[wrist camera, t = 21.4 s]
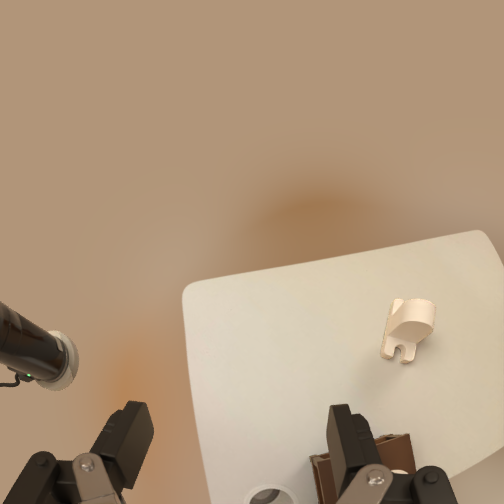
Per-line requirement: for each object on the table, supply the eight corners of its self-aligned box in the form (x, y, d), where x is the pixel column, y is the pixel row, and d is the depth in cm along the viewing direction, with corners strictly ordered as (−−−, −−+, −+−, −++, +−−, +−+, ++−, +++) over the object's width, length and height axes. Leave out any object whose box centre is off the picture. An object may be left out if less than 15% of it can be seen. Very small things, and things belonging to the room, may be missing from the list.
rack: (318, 507, 33) (328, 524, 25) (308, 455, 38) (317, 461, 30) (395, 484, 33) (419, 493, 26) (385, 433, 38) (409, 433, 30)
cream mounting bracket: (379, 356, 45) (402, 338, 36) (391, 301, 49) (412, 274, 41) (408, 364, 43) (436, 347, 35) (418, 309, 48) (443, 283, 40)
